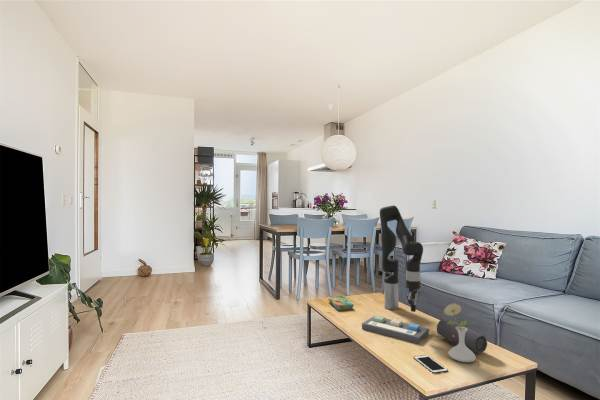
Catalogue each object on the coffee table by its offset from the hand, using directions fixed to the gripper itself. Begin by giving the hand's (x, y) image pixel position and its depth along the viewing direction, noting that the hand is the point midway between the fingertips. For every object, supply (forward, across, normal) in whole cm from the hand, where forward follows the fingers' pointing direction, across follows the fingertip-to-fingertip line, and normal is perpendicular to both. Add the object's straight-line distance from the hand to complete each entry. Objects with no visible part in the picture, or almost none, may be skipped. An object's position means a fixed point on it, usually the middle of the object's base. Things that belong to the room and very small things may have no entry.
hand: (413, 311), depth 175 cm
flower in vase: (+13, +14, +26) cm, 32 cm away
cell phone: (+14, +28, +17) cm, 35 cm away
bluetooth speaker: (+13, -1, +23) cm, 26 cm away
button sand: (+11, 0, -10) cm, 15 cm away
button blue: (+11, 0, 0) cm, 11 cm away
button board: (+13, +2, -10) cm, 16 cm away
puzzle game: (+13, -18, -58) cm, 62 cm away
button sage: (+11, 0, -20) cm, 23 cm away
